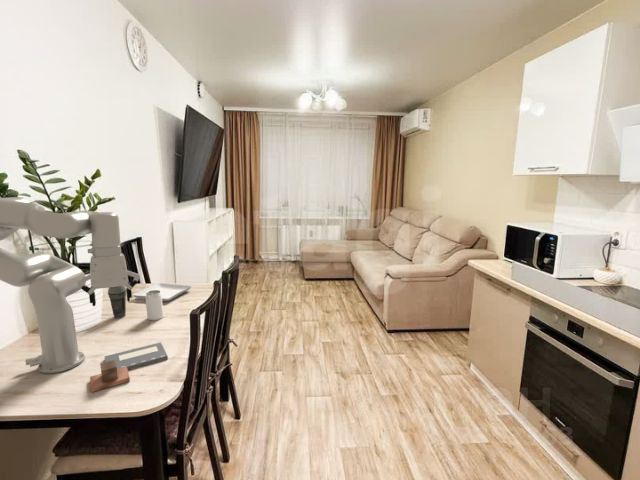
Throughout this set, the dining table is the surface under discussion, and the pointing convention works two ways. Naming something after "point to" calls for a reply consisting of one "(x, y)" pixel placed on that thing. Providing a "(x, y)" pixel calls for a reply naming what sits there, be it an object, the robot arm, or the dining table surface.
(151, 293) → the can
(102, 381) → the wooden t-shaped block
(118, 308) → the beverage cup
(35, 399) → the dining table surface
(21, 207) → the robot arm
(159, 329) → the dining table surface
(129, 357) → the board
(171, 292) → the salad plate
